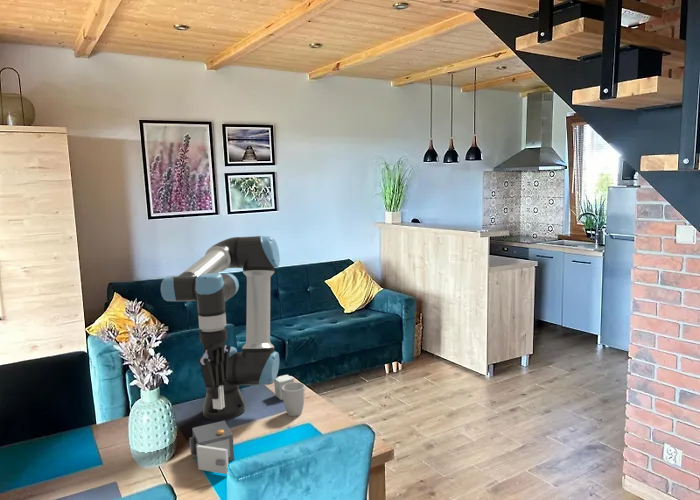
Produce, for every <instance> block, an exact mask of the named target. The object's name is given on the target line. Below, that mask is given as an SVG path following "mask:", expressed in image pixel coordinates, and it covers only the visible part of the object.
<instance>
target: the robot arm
mask: <svg viewBox="0 0 700 500" xmlns="http://www.w3.org/2000/svg"><path fill="white" fill-rule="evenodd" d="M280 259H281V258H280V252H279V247H278V244H277V241H276V240H275V238H274V237H272V236H267V235H265V236H264V235H256V236H242V237H241V236H235V237H229V238H226V239H224V240H221V241H219V242H217V243H215V244H213V245H211V246H210V247H209V248H208V249H207V251H206V252H205V254H204V256H202V257H201V258H200V259H198V260H197V261H196V262H195V263H193V264H192V265H191V266H189V267H188V268H187V269H185V270H184V271H183V272H182V273H181V274H178V276H175V275H172V276H166V277H165V278H163V279H162V280H161V283H160V294H161V297H162V298H163V300H164V301H166V302H176V303H177V302H196V303H197V304H196V305H197V306H196V307H197V316H198V328H199V329H200V330H199V342H200V344H201V345H202V346H203V350H202V353H203V355H202V356H201V357H199V358H198V359H197V362H198V363H199V365H200V368H201V369H200V370H201V373H202V377H203V381H204V386H205V390H206V395H205V398H204V402H203V406H202V414H203V415H202V416H203V417H204V418H205V419H206V420H210V421H211V420H212V421H225V420H231V419H233V418H236V417H238V416H239V417H240V415H242V414H243V413H244V412H245V411H246V402H245V399H244V397H243V395H242V393H241V391H240V386H260V387H261V386H264V385H265V386H266V385H267V386H268V385H269V386H270V385H272V384H273V383H274V381H275V379H276V377H278V372H279V369H280V354H279V352H278V351H275V346H274V344H273V343H272V342H271V277H272V276H273V274H275V268H278V267H279V265H280V261H281V260H280ZM227 269H242V273H243V275H245V277H246V325H245V326H246V329H245V330H246V333H245V334H246V335H245V336H246V337H245V338H246V339H245V340H246V341H245V344H244V345H243V346H242V347H241V351H239V352H238V350H237V348H236V347H234V346H230V345H227V344H226V341H227V340H228V330H227V327H226V326H227V314H226V303H225V302H226V301H228V300H230V299H231V298H233V297H234V296H235V295H236V294H237V293H238V291H239V288H240V284H239V280H238V278H237V277H236V276H235V275H234V274H232V273H227V272H226V273H220V272H224V271H226V270H227Z"/></svg>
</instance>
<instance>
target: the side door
mask: <svg viewBox="0 0 700 500" xmlns="http://www.w3.org/2000/svg"><path fill="white" fill-rule="evenodd" d="M196 453H197V458H196V463H197V464H196V465H197V469H198V471H199V470H200V471H205V472H212V473H216V474H217V473H219V474H225V475H228V474H227V468H228V465H229V464H230V463H229V462H230V461H228V449H223V448H216V447H209V446H202V445H198V444H196ZM229 466H230V465H229Z"/></svg>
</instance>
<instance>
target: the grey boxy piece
mask: <svg viewBox="0 0 700 500" xmlns="http://www.w3.org/2000/svg"><path fill="white" fill-rule="evenodd" d="M191 429H192V437H189V438H188V439H189V441H188V442H189V449H190V454H191V456H195V459H197V453H196V444H198V445H202V446H209V447H216V448H223V449H228V462H231V461H235V448H234V436H233V433H232V431H231V429H230V427H229V426H228V424H227V422H226V421H225V420H219V421H217V422H216V421H215V422H212V423H208V424H204V425H203V424H202V425H198V426H195V427H192V428H191Z"/></svg>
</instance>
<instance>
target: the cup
mask: <svg viewBox="0 0 700 500" xmlns="http://www.w3.org/2000/svg"><path fill="white" fill-rule="evenodd" d="M305 389H306V388H305V384H304V383H303V382H302V383H301V382H299V381H298V382H297V381H295V382H293V383H288V384H285V385H283V386H282V393H283V400H282V401H283V404H284V407H285V411H286V413H287V415H288V416H289V417H290V416H291V417H297V416H300V415H302V414H303V410H304V406H305V392H306V391H305Z"/></svg>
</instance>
